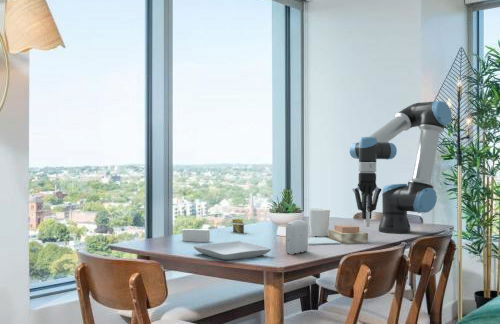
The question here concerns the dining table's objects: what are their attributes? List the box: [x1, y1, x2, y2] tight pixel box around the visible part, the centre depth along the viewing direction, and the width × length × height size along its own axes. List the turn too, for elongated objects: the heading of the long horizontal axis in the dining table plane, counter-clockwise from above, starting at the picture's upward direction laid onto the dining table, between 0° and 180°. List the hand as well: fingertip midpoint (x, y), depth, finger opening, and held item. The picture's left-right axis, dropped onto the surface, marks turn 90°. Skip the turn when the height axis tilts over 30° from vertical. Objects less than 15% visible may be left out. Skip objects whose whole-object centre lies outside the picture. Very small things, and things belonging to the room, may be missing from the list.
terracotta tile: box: [333, 224, 360, 233], centre depth 245 cm, size 8×8×2 cm
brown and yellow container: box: [229, 218, 247, 234], centre depth 270 cm, size 12×18×7 cm, turn 40°
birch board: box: [327, 229, 369, 245], centre depth 245 cm, size 12×14×4 cm
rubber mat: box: [308, 236, 341, 246], centre depth 242 cm, size 14×16×1 cm
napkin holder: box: [182, 228, 211, 243], centre depth 242 cm, size 15×11×6 cm
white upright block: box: [285, 219, 309, 255], centre depth 214 cm, size 10×4×12 cm, turn 140°
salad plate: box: [193, 240, 272, 261], centre depth 207 cm, size 21×21×3 cm
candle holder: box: [308, 208, 331, 238], centre depth 261 cm, size 10×10×12 cm
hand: (366, 226), depth 247 cm, fingers closed
